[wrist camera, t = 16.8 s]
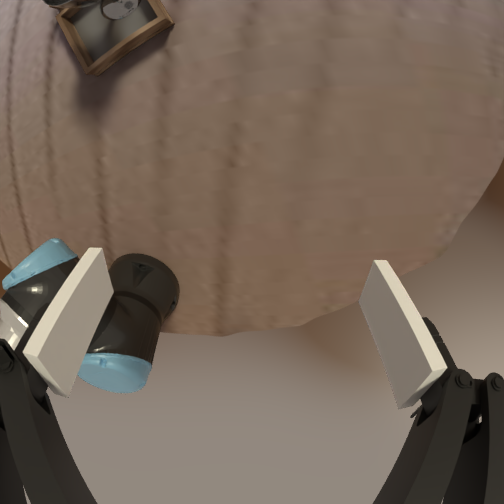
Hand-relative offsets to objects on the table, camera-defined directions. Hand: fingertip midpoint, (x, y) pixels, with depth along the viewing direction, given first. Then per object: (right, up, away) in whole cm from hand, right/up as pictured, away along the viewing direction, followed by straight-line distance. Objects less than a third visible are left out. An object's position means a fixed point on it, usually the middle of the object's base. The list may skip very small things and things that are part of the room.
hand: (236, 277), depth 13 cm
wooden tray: (-21, +38, +13) cm, 45 cm away
